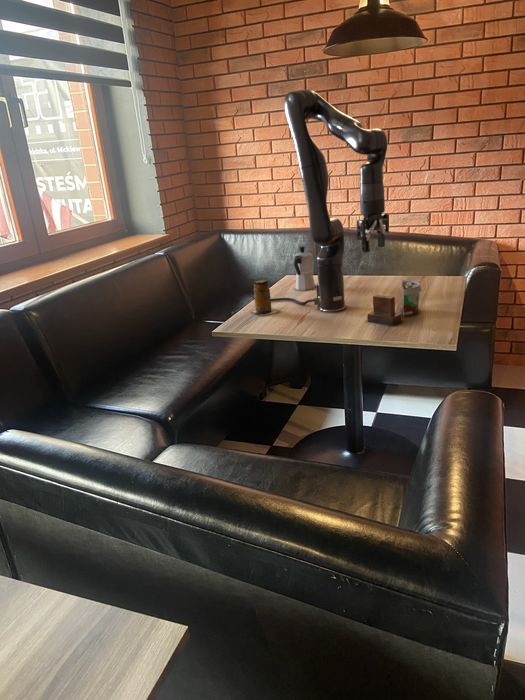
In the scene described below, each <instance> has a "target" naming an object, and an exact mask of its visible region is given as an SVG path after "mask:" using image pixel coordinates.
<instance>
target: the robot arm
mask: <svg viewBox="0 0 525 700" xmlns="http://www.w3.org/2000/svg"><path fill="white" fill-rule="evenodd" d="M283 110H284V115H285V118H286V121H287V125H288V128H289V131H290V134H291V137H292V141H293V146H294V149H295V153H296V157H297V162H298V168H299V173H300V178H301V182H302V187H303V192H304V196H305V201H306V204H307V205H306V206H307V212H308V221H309V223H308V224H309V231H310V236H311V238H312V240H313V242H314V243H315V244H316V245H317V246H319V247H320V250H319V253H318V254H317V255H316V269H317V270H316V271H317V283H316V284H315V288H316V297H314V298H311V299H308V300H305V301H299V300H297V299H295V298H292V297H277V298H276V297H275V298H270V299H271V302H278V301H291V302H294V303H296V304H298V305H300V306H301V305H303V306H304V305H306V304H308V303H313V304H314V306H315V305H316V306H317V309H318V310H320V311H321V312H324V313H335V312H340V311H343V310H345V309H346V302H345V301H346V299H345V283H344V265H343V263H344V261H343V258H344V254H345V229H344V226H343V223H342V221H341V220H340V219H339V218H338V217H336V216H330V214H329V210H328V204H327V202H328V201H327V199H328V191H329V181H330V179H329V170H328V165H327V161H326V157H325V155H324V153H323V152H322V150H321V149H320V147H319V146H318V145H317V143H316V142H315V140H314V139H313V138H312V136H311V134H310V132H309V129H308V126H307V125H308V124H307V121H308V120H312V119H313V120H316V121H319V122H321V123H323V124H324V125H325V127H326V129H327V130H328V132H329V133H330V134H332V136H334V137H335V138H337V139H339V140H341V141H343V142H345V143H346V144H347V146H348V147H349V148H350V149H351V150H352V151H353V152H354V153H356V154H359V155H360V156H361V155H363V156H367V159H366V161H365V162H364V163H362V164H361V165H360V167H359V206H360V207H359V209H360V214H361V215H362V216H363V218H362V219H357V220H356V240H360V241H361V251H362V252H363V253H370V237H371V235H372V234H373V233H374V232H376V234H377V247H378V248H385V246H386V235H387V233H389V232H390V222H389V220H390V219H389V214H388V213H385V211H386V208H385V207H386V205H385V204H386V202H385V187H384V186H385V185H384V164H385V161H386V156H387V151H388V136H387V134H386V132H385V131H384V130H383V129H381V128H369V129H364V127H363V124H362V123H361V122H359V121H358V120H357V119H355V118H353V117H351V116H349V115H348V114H346V113H344V112H342V111H341V110H338V109H337V108H335V107H334V106H333V105H332V104H330V103H329V102H328V101H327V100H325V98H323V97H322V96H321V95H320V94H319V93H317V92H316V91H314V90H312V89H299V90H292V91H289V92H287V94H286V95H285V97H284V101H283ZM252 300H255V298H254V296H253V297H252Z"/></svg>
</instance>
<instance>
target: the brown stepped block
mask: <svg viewBox="0 0 525 700" xmlns="http://www.w3.org/2000/svg"><path fill="white" fill-rule="evenodd" d="M372 310H373V311H370V312H369V313H367V316H366V317H367V322H368V323H373V324H374V323H375V324H380V325H386V326H392V327H394V326H396V325H397V324H400V323H401V322H402V313H399V312H396V296H390V295H385V294H383V295H382V294H374V295H372Z"/></svg>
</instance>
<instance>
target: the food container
mask: <svg viewBox="0 0 525 700" xmlns="http://www.w3.org/2000/svg"><path fill="white" fill-rule="evenodd" d="M421 292H422V286H421V284H420V282H419V281H414V280H402V281H401V299H402V300H401V301H402V305H401V306H402V314H403V317H404V318H405V317H407V318H408V317H413V316H416V315H417V314H418V313H419V304H420V302H419V301H420V293H421Z"/></svg>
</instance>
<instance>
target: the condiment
mask: <svg viewBox="0 0 525 700" xmlns="http://www.w3.org/2000/svg"><path fill="white" fill-rule="evenodd" d="M253 297H254V298H255V299H254V306H255V310H251V311H250V312H251V313H254V314H256V315H258V316H267V315H273V314H277V313H278V312H279V311H278V310H275V309H272V301H271V299H272V298H271V290H270V287H269V281H268V280H267V279H257V280H254V282H253Z"/></svg>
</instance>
